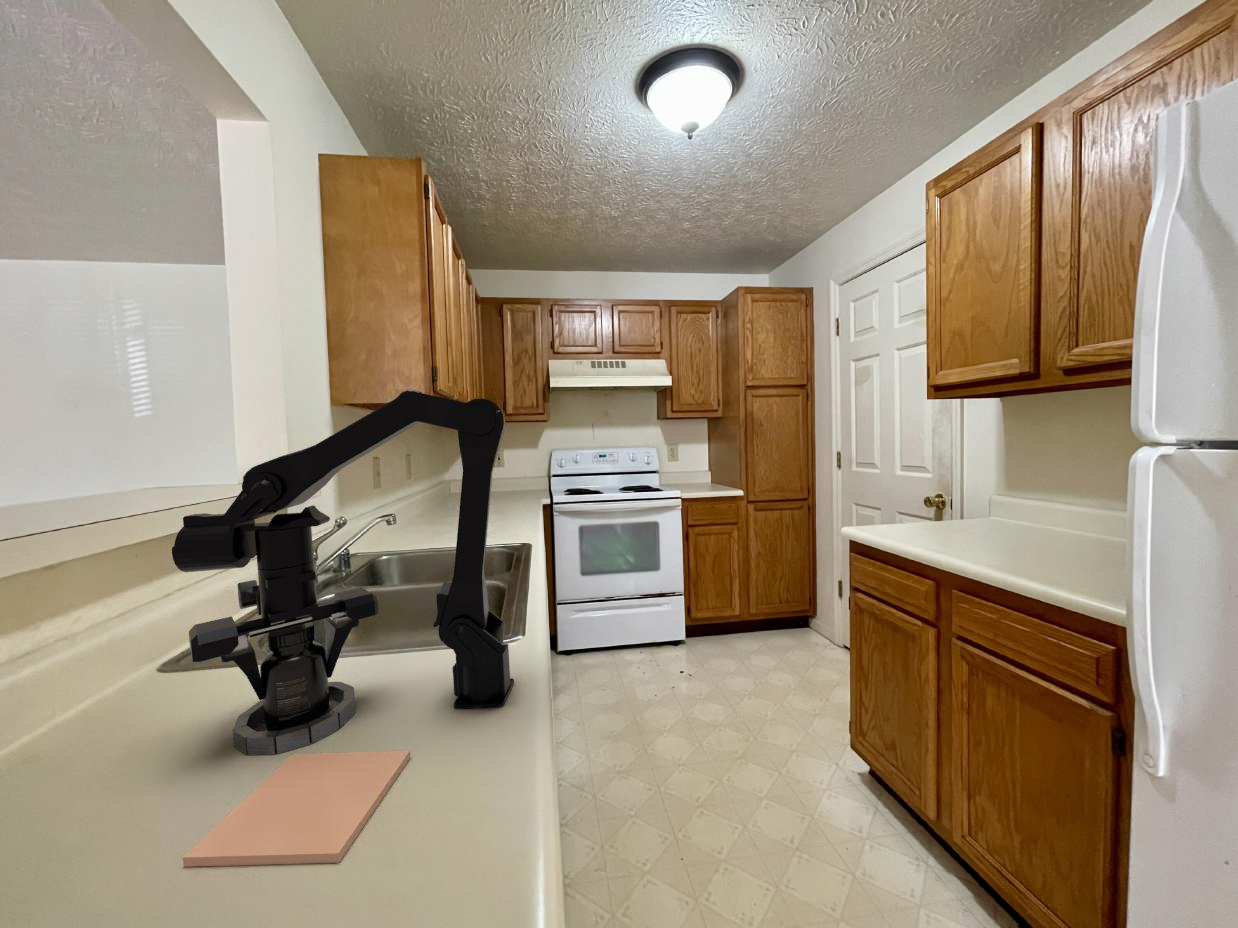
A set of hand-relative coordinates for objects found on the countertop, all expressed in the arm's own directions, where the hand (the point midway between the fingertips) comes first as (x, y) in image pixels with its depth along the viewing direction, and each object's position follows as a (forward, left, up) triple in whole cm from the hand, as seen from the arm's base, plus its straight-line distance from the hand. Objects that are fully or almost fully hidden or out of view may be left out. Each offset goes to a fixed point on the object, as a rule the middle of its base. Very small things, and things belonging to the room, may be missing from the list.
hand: (296, 687), depth 60 cm
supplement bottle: (0, 0, -5) cm, 5 cm away
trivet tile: (-11, +14, -4) cm, 18 cm away
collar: (0, 0, -4) cm, 4 cm away
